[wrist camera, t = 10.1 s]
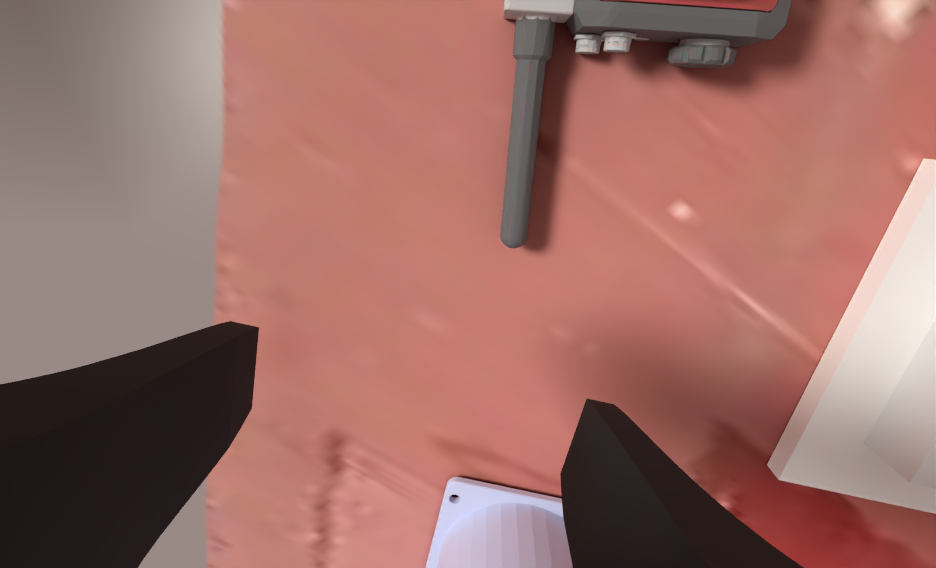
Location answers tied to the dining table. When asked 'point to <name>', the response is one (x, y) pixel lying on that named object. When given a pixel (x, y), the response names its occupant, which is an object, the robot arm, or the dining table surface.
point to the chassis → (877, 375)
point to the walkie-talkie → (617, 23)
